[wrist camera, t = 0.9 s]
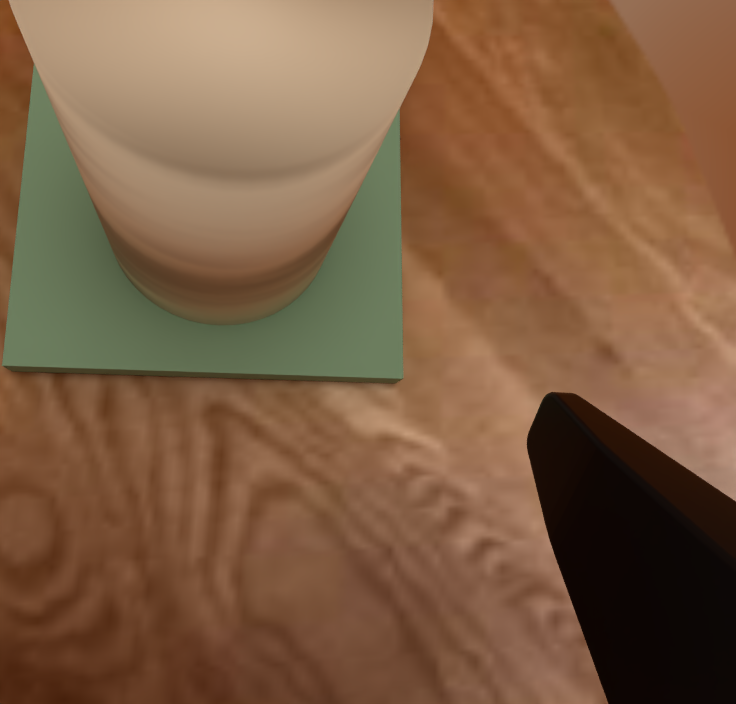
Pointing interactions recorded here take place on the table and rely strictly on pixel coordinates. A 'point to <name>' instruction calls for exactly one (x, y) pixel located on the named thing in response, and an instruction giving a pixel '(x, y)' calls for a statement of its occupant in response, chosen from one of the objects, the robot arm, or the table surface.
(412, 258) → the table surface
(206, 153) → the birch cylinder
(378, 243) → the putting mat
